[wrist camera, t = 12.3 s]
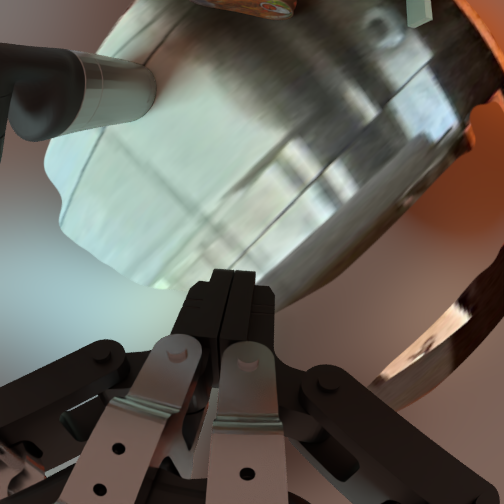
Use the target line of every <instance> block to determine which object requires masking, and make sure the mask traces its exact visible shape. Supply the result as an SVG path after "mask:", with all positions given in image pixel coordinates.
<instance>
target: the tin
mask: <svg viewBox="0 0 504 504" xmlns="http://www.w3.org/2000/svg"><path fill="white" fill-rule="evenodd" d="M189 1H191V2H193V3H196V4H199V5H202V6H207V7H212V8H218V9H224V10H229V11H234V12H239V13H244V14H248V15H253V16H257V17H261V18H266V19H272V20H286V19H289V18H291V17H292V16H293V14H294V9H295V7H296V4H297V0H189Z"/></svg>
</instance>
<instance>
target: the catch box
mask: <svg viewBox="0 0 504 504" xmlns="http://www.w3.org/2000/svg"><path fill="white" fill-rule="evenodd" d="M406 5H407V22H408V27H411V28H416V27H418V26H420V25H422V24H424V23H426V22H429V21H431V20H432V9H431V0H406Z"/></svg>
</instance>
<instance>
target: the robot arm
mask: <svg viewBox="0 0 504 504" xmlns="http://www.w3.org/2000/svg"><path fill="white" fill-rule="evenodd" d="M155 95H156V82H155V79H154V76H153V75H152V73H151V71H150V70H149V69H148V68H146V67H145V66H143V65H140V64H136V63H133V62H129V61H125V60H121V59H117V58H112V57H107V56H103V55H97V54H92V53H86V52H80V51H74V50H67V49H59V48H46V47H33V46H24V45H15V44H7V43H0V162H1V157H2V152H3V144H4V137H5V130H6V125H7V119H9V122H10V125H11V127H12V128H13V130H14V131H15V133H16V134H17V135H18V136H20V137H21V138H22V139H24V140H27V141H32V142H38V141H43V140H47V139H51V138H54V137H58V136H62V135H66V134H70V133H74V132H79V131H83V130H88V129H93V128H98V127H103V126H109V125H115V124H121V123H127V122H132V121H135V120H137V119H139V118H141V117H142V116H143V115H144V114H146V113H147V111H148V110H149V109H150V107H151V106H152V104H153V102H154V99H155ZM255 277H256V272H255V271H241V270H236V271H234V270H226V269H214V270H213V273H212V276H211V278H210V281H209V282H206V281H198V282H197V283H196V284H195V285H193V286H192V287H191V288H190V290H189V292H188V294H187V297H186V300H185V301H184V303H183V307H182V308H181V310H180V313H179V315H178V317H177V320H176V322H175V324H174V327H173V329H172V331H171V334H170V335H168V336H165V337H163V338H161V339H160V340H159V341H158V342H157V343H156V344H155V345H154V347H153V349H152V350H150V351H144V352H133V353H132V352H131V353H125V350H124V348H123V346H122V345H121V344H120V343H118V342H116V341H114V340H108V339H104V340H99V341H95V342H93V343H91V344H89V345H87V346H85V347H83V348H81V349H79V350H77V351H75V352H73V353H71V354H69V355H66V356H64V357H62V358H60V359H58V360H56V361H54V362H52V363H50V364H48V365H46V366H44V367H42V368H40V369H38V370H35V371H33V372H32V373H29V374H27V375H25V376H23V377H21V378H19V379H17V380H15V381H13V382H10V383H8V384H6V385H4V386H2V387H0V504H310V503H309V502H308V501H306V500H305V499H303V498H301V497H300V496H297V495H295V494H293V493H291V492H288V490H287V474H286V460H285V445H284V436H286V437H288V438H289V441H290V442H291V443H292V445H293V446H294V447H295V448H296V449H297V450H298V451H299V452H300V453H301V454H302V455H303V456H304V457H305V458H306V459H307V460H308V461H309V462H310V463H311V464H312V465H313V466H314V467H315V468H316V469H317V470H318V471H319V472H320V473H321V474H322V475H323V476H324V477H325V478H326V479H327V480H328V481H329V482H330V483H331V484H332V485H333V486H334V487H335V488H336V489H337V490H338V491H339V492H341V493H342V494H343V495H344V496H345V497H346V498H347V499H348V500H349V501H350V502H352V503H353V504H500V500H499V494H498V491H497V489H496V488H495V487H494V486H493V485H492V484H490V483H489V482H488V481H486V480H485V479H483V478H482V477H481V476H479V475H478V474H476V473H475V472H474V471H472V470H471V469H469V468H468V467H467V466H466V465H464V464H463V463H461V462H460V461H459V460H457V459H456V458H455V457H453V456H452V455H451V454H449V453H448V452H447V451H445V450H444V449H443V448H441V447H440V446H439V445H437V444H436V443H435V442H434V441H432V440H431V439H430V438H428V437H427V436H426V435H425V434H423V433H422V432H420V431H419V430H418V429H417V428H416V427H414V426H413V425H412V424H410V423H409V422H408V421H407V420H405V419H404V418H403V417H402V416H400V415H399V414H398V413H397V412H395V411H394V410H393V409H392V408H390V407H389V406H388V405H387V404H385V403H384V402H383V401H382V400H380V399H379V398H378V397H377V396H375V395H374V394H373V393H372V392H371V391H369V390H368V389H367V388H366V387H364V386H363V385H362V384H361V383H360V382H358V381H357V380H356V379H355V378H353V377H352V376H351V375H350V374H349V373H347V372H346V371H344V370H343V369H342V368H339V367H337V366H333V365H327V364H326V365H318V366H314V367H312V368H311V369H309V370H307V371H306V372H305V371H301V370H298V369H295V368H292V367H289V366H288V365H286V364H284V363H283V362H282V361H280V360H279V358H278V357H277V356H276V354H275V352H274V310H275V307H274V306H275V295H274V293H273V292H272V290H271V288H270V287H269V286H258V285H255ZM212 387H213V388H219V392H218V402H217V413H216V419H214V421H213V427H212V435H211V446H210V458H209V468H208V478H206V479H191V475H192V471H193V458H194V453H195V450H196V446H197V443H198V440H199V436H200V433H201V430H202V427H203V424H204V420H205V417H206V414H207V411H208V407H209V398H210V393H211V389H212ZM96 395H98V397H96V398H94V399H92V400H90V401H88V402H86V403H84V404H82V405H80V406H79V407H77V408H75V409H73V410H71V411H67V410H68V409H71V408H73V407H74V406H76V405H78V404H80V403H82V402H84V401H86V400H88V399H89V398H92V397H94V396H96ZM79 455H80V457H79V459H78V461H77V463H74V464H73V465H70V466H68V467H67V468H65V469H63V470H61V471H59V472H57V473H55V474H53V475H52V476H50V477H48V478H47V477H46V476H45V472H46V471H48V470H50V469H52V468H55V467H57V466H58V465H61V464H63V463H65V462H67V461H69V460H71V459H73V458H75V457H77V456H79Z"/></svg>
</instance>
